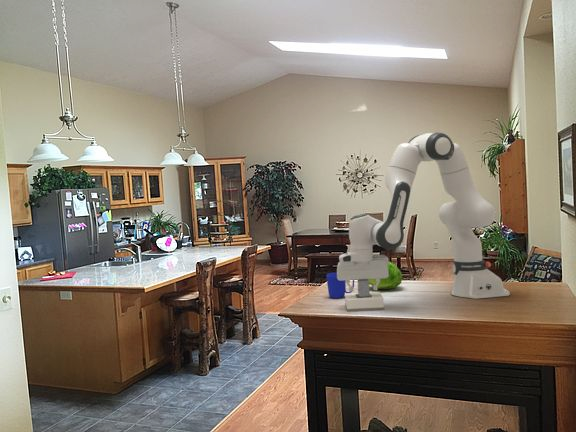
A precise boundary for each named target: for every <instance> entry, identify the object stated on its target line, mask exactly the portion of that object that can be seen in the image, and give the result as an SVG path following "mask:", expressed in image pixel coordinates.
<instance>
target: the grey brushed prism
mask: <svg viewBox="0 0 576 432" xmlns="http://www.w3.org/2000/svg"><path fill="white" fill-rule="evenodd" d="M369 292H370V285H369V280H368V279H363V280H357V293H358V298H369V297H370V294H369Z"/></svg>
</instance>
